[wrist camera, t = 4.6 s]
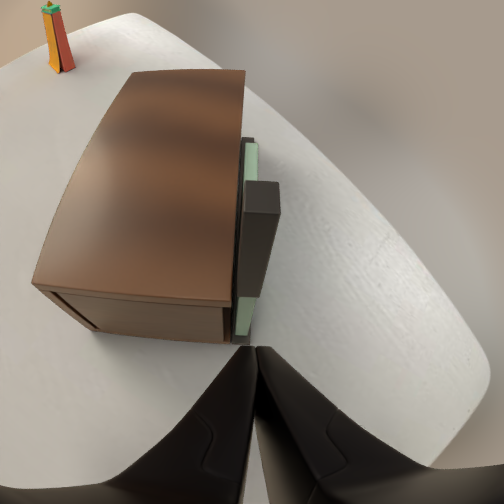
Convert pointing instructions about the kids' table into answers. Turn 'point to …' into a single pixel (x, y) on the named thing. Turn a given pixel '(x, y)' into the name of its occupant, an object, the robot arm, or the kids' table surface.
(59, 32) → the building blocks
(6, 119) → the kids' table surface
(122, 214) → the cabinet
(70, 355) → the kids' table surface
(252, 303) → the sliding door
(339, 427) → the robot arm
